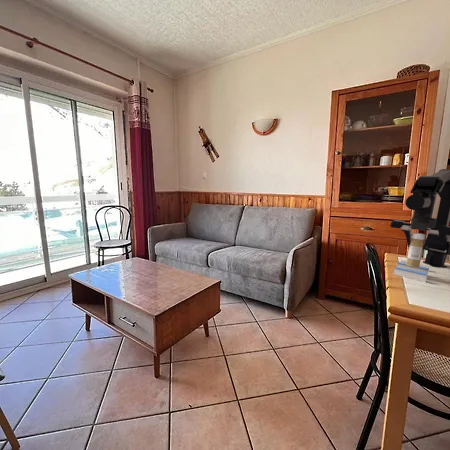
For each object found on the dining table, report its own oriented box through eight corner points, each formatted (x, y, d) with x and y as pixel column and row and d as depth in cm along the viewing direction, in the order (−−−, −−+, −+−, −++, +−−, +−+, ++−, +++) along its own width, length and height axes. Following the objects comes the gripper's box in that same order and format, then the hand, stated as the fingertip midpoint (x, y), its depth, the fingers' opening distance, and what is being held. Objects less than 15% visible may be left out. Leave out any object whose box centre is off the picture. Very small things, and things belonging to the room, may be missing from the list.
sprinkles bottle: (421, 267, 95) (428, 234, 93) (416, 268, 93) (423, 235, 90) (407, 263, 99) (414, 232, 97) (403, 265, 97) (409, 232, 94)
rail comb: (400, 264, 110) (401, 257, 109) (428, 270, 103) (430, 263, 102) (393, 274, 96) (394, 267, 96) (425, 282, 90) (427, 274, 89)
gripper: (391, 207, 92) (384, 246, 95) (457, 213, 80) (447, 258, 83) (395, 206, 100) (389, 242, 103) (457, 211, 88) (447, 252, 91)
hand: (416, 248), depth 95 cm, fingers closed on sprinkles bottle, 4 cm apart
